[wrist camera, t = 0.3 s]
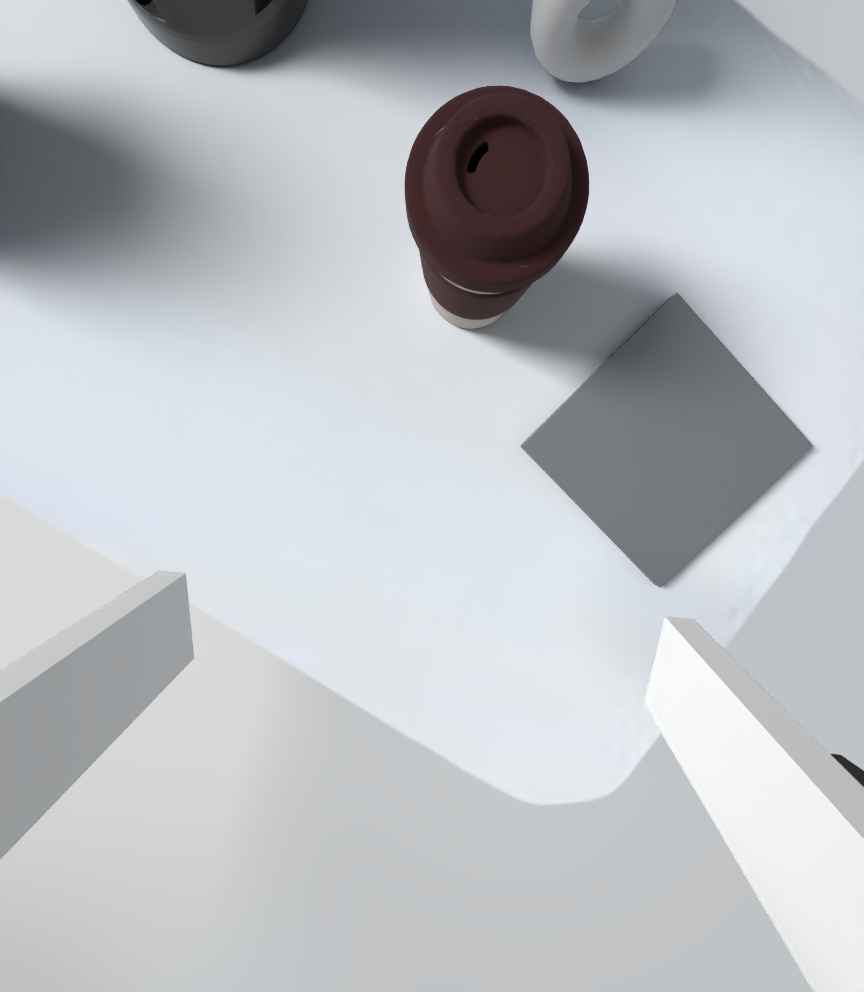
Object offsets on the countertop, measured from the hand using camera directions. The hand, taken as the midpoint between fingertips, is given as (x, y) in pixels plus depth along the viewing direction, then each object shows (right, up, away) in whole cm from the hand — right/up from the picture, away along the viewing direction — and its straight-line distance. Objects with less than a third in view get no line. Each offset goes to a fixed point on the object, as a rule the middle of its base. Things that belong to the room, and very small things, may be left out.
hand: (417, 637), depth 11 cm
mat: (+21, +8, +25) cm, 34 cm away
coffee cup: (+4, +22, +24) cm, 33 cm away
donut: (+12, +39, +22) cm, 46 cm away
